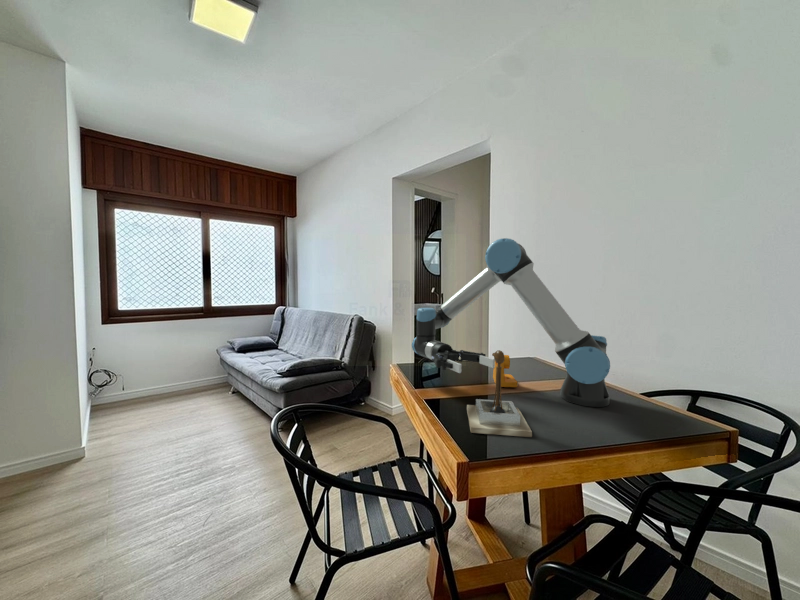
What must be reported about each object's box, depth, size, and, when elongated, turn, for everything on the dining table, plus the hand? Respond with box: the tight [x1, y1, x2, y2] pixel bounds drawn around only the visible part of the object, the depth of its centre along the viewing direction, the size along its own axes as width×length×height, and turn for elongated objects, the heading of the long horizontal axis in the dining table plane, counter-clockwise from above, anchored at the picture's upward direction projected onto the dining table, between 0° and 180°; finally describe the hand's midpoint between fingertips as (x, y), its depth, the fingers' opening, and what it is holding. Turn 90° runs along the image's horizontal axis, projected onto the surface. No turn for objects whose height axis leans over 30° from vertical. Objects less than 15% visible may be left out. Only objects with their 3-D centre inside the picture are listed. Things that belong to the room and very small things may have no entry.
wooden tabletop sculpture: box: [490, 350, 505, 413], centre depth 95 cm, size 6×5×20 cm
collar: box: [475, 398, 520, 427], centre depth 95 cm, size 11×11×3 cm
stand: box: [466, 404, 533, 438], centre depth 95 cm, size 16×16×2 cm
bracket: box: [492, 354, 518, 388], centre depth 129 cm, size 11×7×12 cm, turn 176°
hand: (477, 366), depth 102 cm, fingers open, 13 cm apart
